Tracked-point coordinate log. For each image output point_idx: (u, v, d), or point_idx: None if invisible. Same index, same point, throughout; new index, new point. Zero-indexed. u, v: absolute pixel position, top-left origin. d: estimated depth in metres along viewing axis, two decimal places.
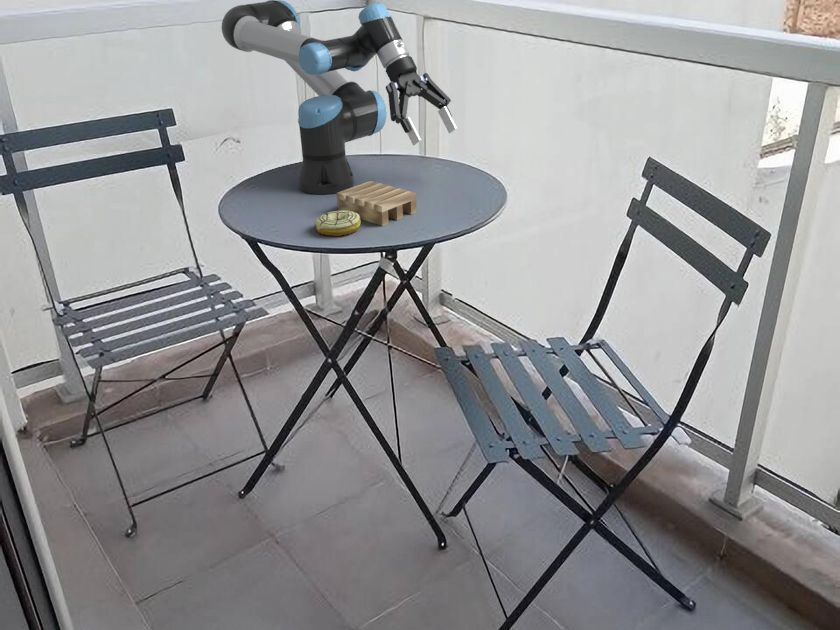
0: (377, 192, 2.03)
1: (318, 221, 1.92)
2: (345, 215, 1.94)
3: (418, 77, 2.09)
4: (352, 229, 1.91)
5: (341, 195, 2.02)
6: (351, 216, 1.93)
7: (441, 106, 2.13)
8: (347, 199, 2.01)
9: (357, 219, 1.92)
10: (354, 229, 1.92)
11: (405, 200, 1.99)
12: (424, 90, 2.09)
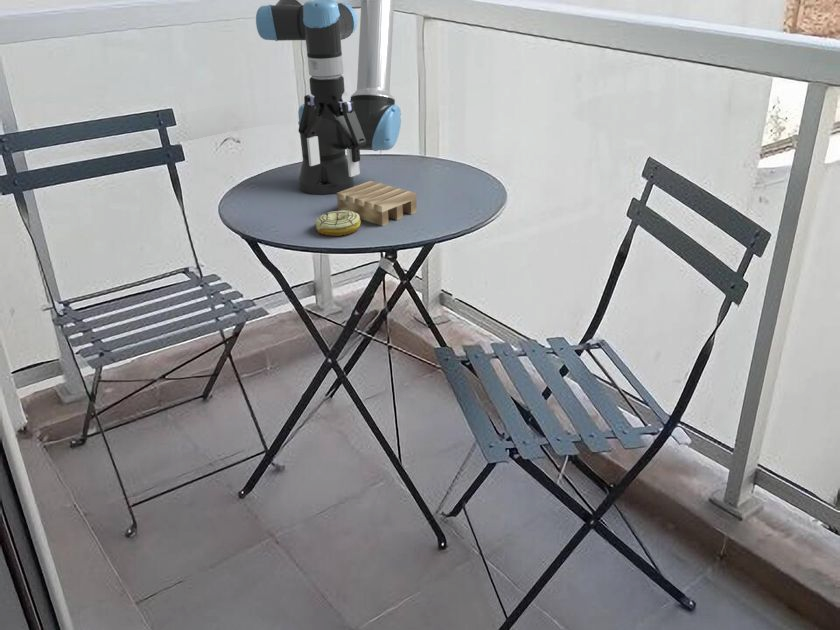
0: (377, 192, 2.03)
1: (318, 221, 1.92)
2: (345, 215, 1.94)
3: (334, 104, 1.78)
4: (352, 229, 1.91)
5: (341, 195, 2.02)
6: (351, 216, 1.93)
7: None
8: (347, 199, 2.01)
9: (357, 219, 1.92)
10: (354, 229, 1.92)
11: (405, 200, 1.99)
12: None
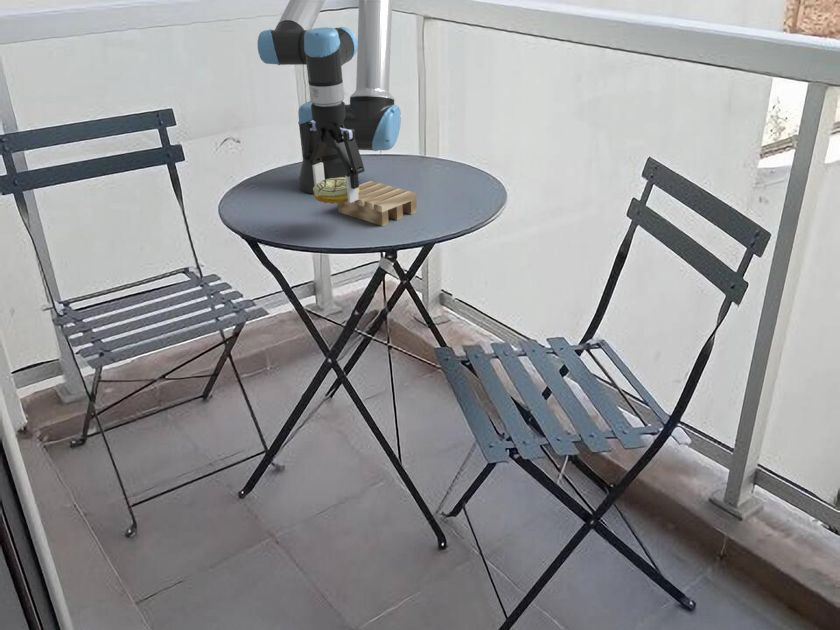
0: (377, 192, 2.03)
1: (316, 188, 1.89)
2: (344, 182, 1.91)
3: (335, 130, 1.81)
4: None
5: None
6: None
7: None
8: None
9: None
10: None
11: (405, 200, 1.99)
12: None
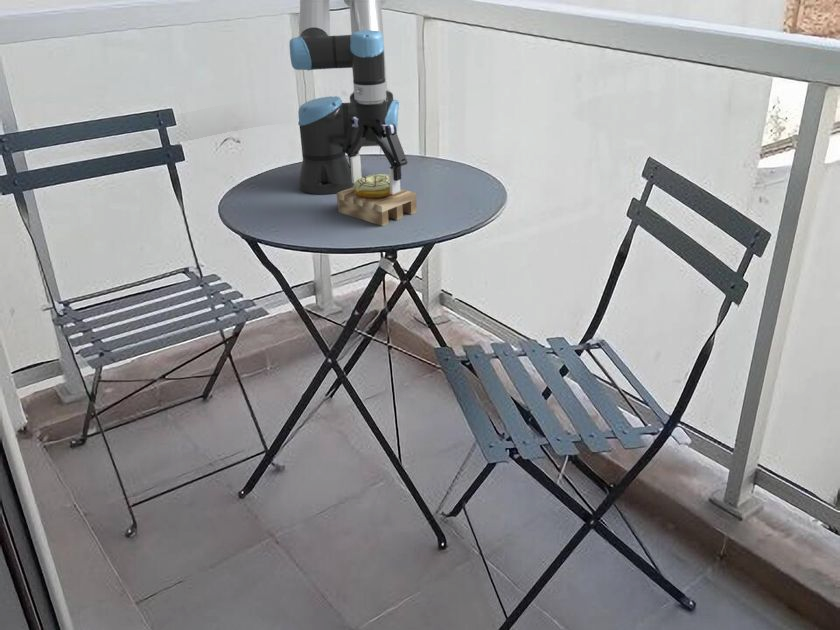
0: None
1: (357, 183, 1.99)
2: (383, 178, 2.01)
3: (377, 126, 1.92)
4: None
5: (341, 195, 2.02)
6: (389, 179, 2.00)
7: None
8: (347, 199, 2.01)
9: None
10: None
11: (405, 200, 1.99)
12: None
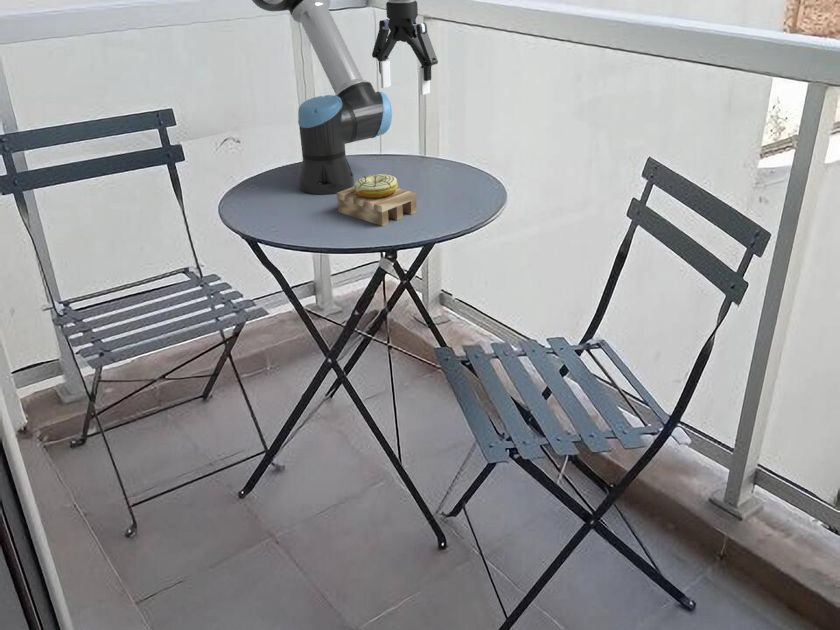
0: None
1: (357, 183, 1.99)
2: (383, 178, 2.01)
3: (408, 26, 1.95)
4: (390, 191, 1.98)
5: (341, 195, 2.02)
6: (389, 179, 2.00)
7: None
8: (347, 199, 2.01)
9: (395, 182, 2.00)
10: (392, 191, 1.99)
11: (405, 200, 1.99)
12: None
